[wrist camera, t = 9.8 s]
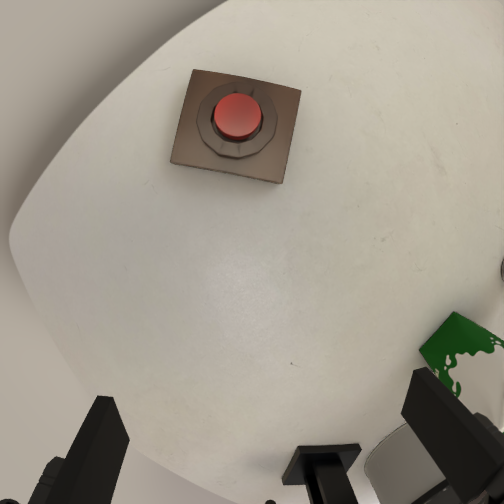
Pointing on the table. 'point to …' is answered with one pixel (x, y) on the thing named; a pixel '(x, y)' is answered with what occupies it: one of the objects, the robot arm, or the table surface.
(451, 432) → the robot arm
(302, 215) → the table surface
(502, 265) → the lotion bottle
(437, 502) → the container
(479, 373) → the milk carton
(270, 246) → the table surface
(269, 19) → the table surface
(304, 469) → the black lever switch
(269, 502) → the lever handle
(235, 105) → the red push button
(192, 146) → the control block
